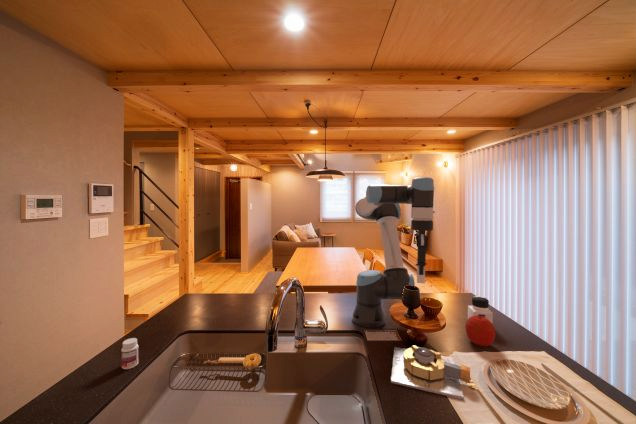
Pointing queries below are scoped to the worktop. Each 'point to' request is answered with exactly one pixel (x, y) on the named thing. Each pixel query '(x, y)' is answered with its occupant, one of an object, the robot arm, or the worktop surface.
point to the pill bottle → (130, 353)
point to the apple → (480, 330)
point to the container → (480, 308)
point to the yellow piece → (434, 367)
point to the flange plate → (439, 386)
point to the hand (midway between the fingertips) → (420, 282)
